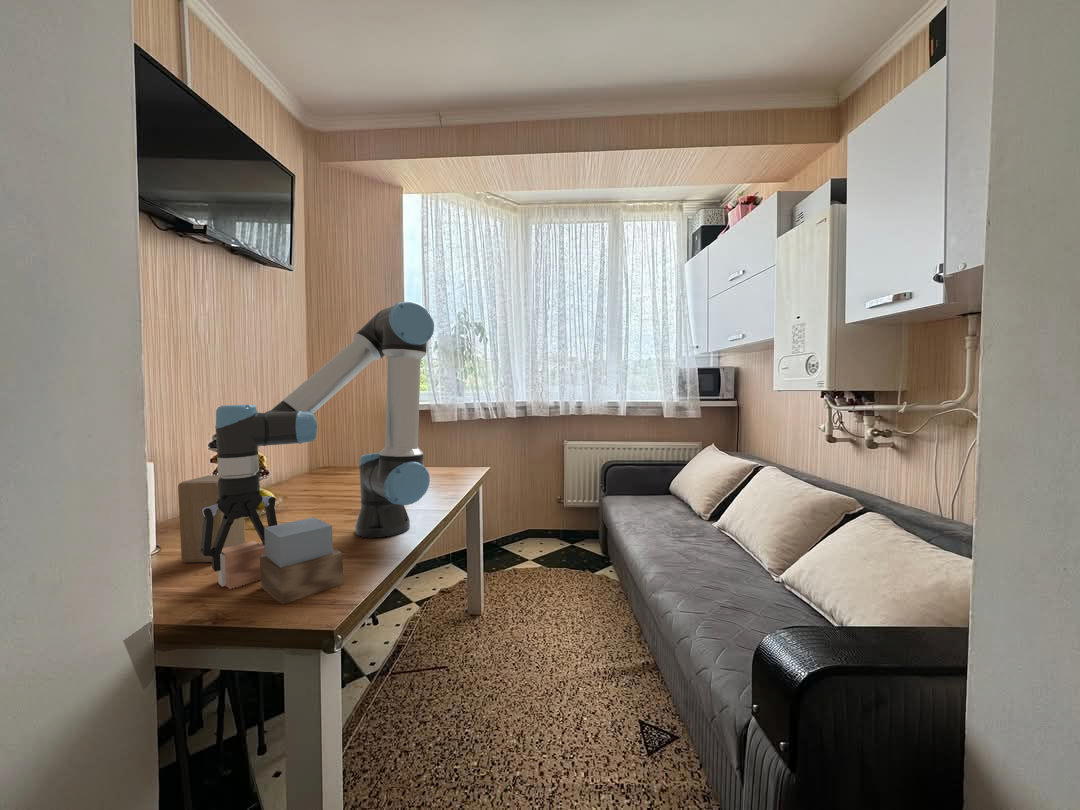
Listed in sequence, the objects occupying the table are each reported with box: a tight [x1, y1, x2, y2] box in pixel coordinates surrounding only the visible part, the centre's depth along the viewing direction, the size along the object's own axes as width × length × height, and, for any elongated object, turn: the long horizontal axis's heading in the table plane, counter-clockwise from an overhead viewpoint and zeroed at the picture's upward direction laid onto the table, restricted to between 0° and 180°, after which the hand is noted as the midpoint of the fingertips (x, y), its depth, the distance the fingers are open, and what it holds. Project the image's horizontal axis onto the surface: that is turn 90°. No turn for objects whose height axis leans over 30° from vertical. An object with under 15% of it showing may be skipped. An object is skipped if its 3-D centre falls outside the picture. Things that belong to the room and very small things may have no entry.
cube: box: [221, 540, 265, 590], centre depth 100 cm, size 7×7×7 cm
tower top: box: [264, 517, 334, 568], centre depth 95 cm, size 10×10×6 cm
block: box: [177, 474, 246, 563], centre depth 115 cm, size 10×10×20 cm
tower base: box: [260, 547, 344, 605], centre depth 96 cm, size 12×12×7 cm
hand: (243, 578), depth 100 cm, fingers closed on cube, 7 cm apart
